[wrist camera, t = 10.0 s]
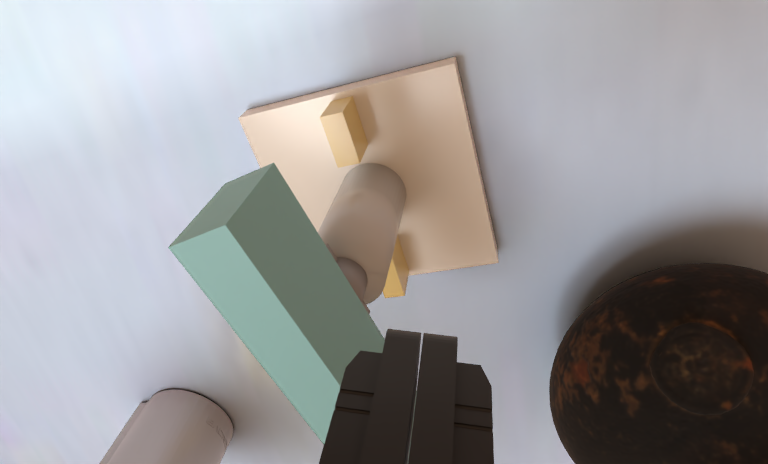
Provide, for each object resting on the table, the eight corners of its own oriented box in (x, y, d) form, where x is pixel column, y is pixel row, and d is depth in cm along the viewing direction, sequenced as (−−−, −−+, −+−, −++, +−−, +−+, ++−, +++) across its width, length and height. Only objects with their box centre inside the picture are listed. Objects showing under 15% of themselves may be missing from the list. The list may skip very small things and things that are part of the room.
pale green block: (425, 371, 30) (411, 485, 24) (384, 380, 31) (362, 493, 25) (288, 143, 24) (225, 224, 18) (242, 163, 24) (168, 247, 19)
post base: (318, 277, 41) (275, 379, 33) (247, 109, 35) (168, 181, 26) (497, 250, 38) (503, 357, 29) (455, 56, 31) (445, 119, 22)
